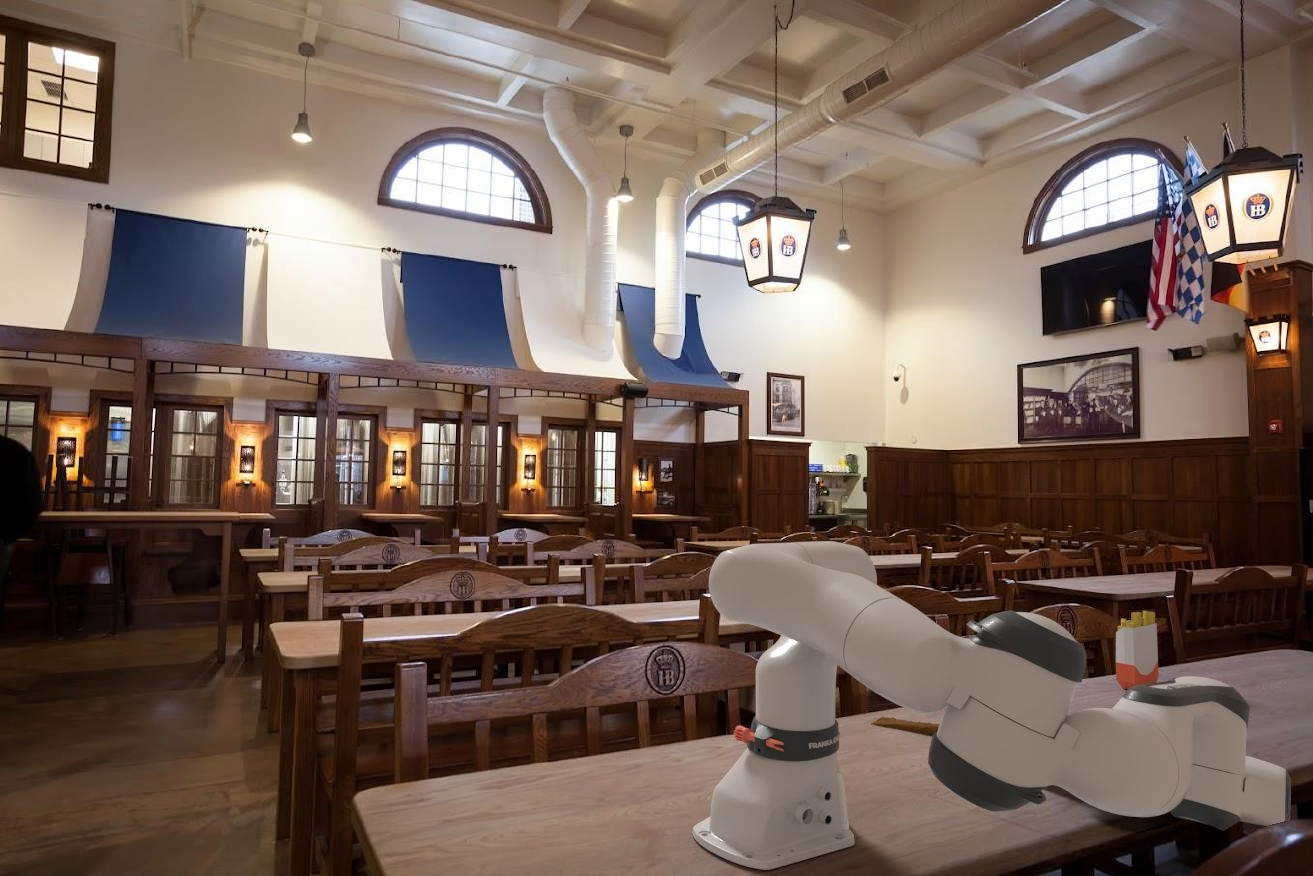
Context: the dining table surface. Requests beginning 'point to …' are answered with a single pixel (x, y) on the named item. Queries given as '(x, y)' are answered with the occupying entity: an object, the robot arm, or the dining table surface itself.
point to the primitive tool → (907, 725)
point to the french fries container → (1137, 650)
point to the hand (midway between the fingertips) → (1055, 743)
